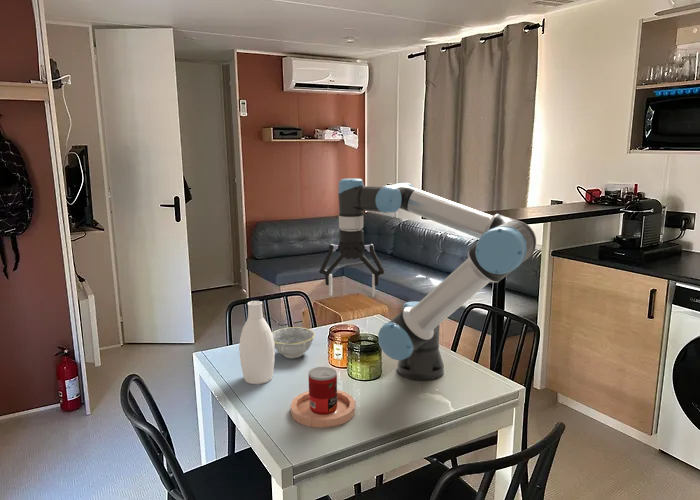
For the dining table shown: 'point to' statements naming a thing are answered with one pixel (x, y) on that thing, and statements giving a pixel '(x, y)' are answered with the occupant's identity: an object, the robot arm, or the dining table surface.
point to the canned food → (323, 390)
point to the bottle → (256, 347)
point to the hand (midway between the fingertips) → (352, 295)
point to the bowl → (293, 341)
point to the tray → (311, 419)
